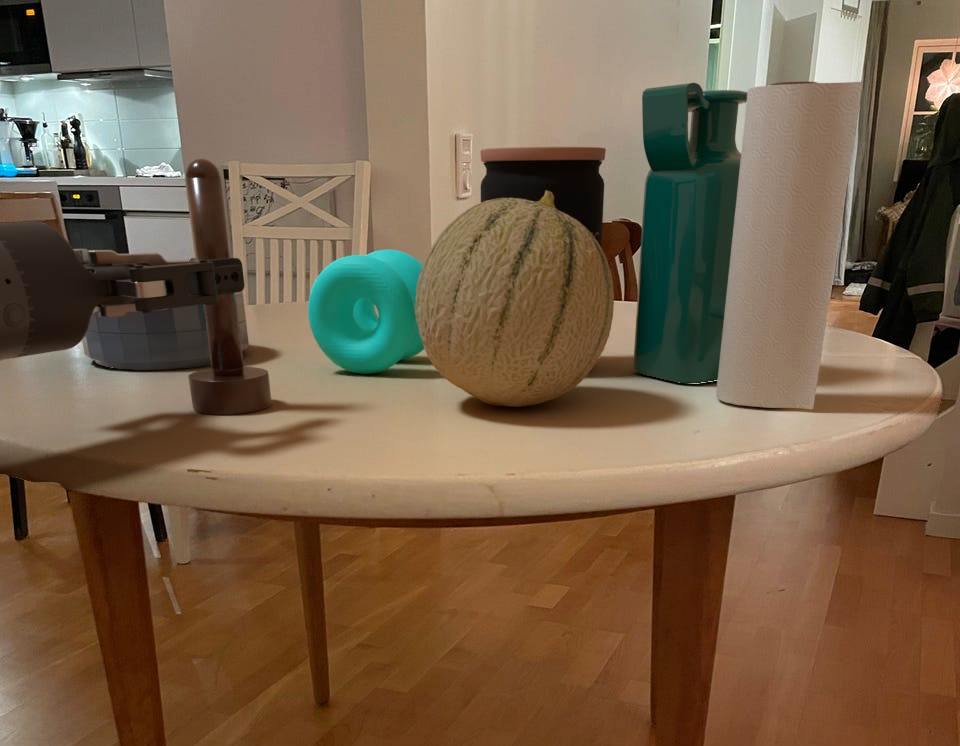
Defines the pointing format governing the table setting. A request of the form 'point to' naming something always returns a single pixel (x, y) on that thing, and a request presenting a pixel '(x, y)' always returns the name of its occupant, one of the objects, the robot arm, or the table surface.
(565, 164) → the coffee jar
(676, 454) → the table surface
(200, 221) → the wooden masher
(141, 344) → the bowl
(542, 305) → the cantaloupe
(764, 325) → the paper towel roll
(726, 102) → the pitcher
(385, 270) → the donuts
